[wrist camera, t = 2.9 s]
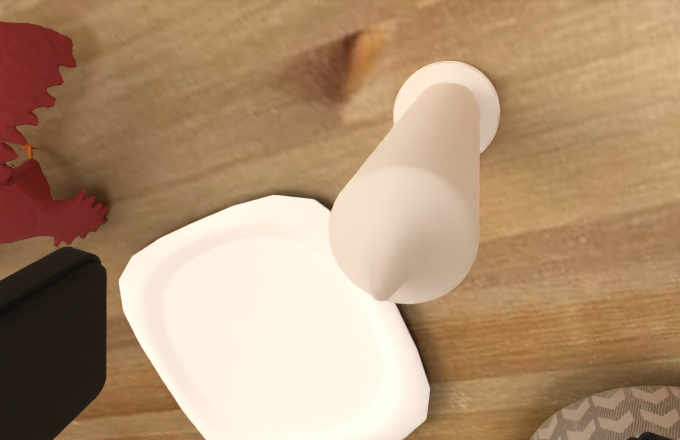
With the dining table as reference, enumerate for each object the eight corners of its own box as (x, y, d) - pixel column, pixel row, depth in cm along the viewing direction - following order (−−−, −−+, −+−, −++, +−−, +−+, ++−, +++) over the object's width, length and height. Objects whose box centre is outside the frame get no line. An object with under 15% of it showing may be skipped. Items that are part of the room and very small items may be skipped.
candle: (444, 36, 33) (364, 75, 10) (523, 110, 33) (614, 305, 10) (374, 117, 36) (192, 285, 13) (446, 184, 36) (391, 456, 14)
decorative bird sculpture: (161, 53, 43) (-60, -38, 32) (185, 118, 37) (-72, 32, 27) (51, 266, 55) (-135, 249, 45) (56, 338, 50) (-153, 337, 39)
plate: (231, 465, 53) (223, 479, 51) (101, 261, 47) (88, 269, 46) (460, 421, 43) (459, 436, 42) (331, 158, 38) (325, 164, 36)
